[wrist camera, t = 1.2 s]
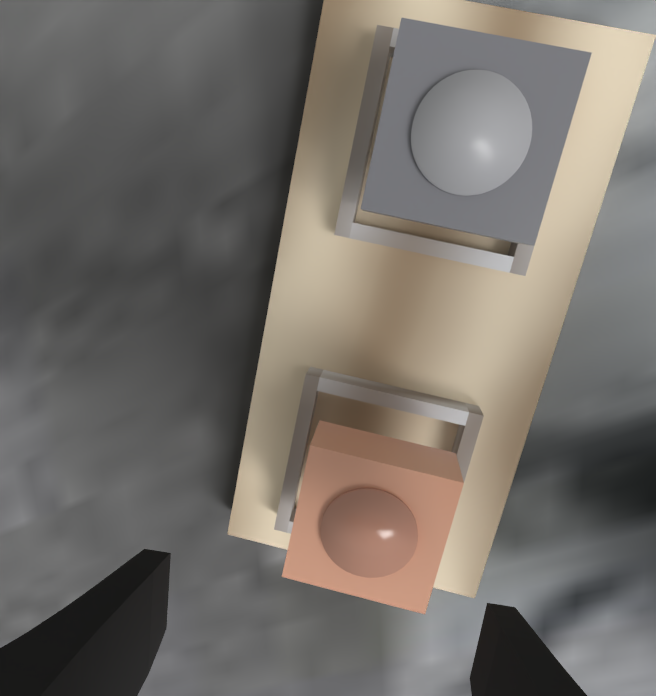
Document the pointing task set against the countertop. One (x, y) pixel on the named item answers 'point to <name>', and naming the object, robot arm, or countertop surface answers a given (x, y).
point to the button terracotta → (373, 516)
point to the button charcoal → (472, 130)
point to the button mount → (419, 283)
